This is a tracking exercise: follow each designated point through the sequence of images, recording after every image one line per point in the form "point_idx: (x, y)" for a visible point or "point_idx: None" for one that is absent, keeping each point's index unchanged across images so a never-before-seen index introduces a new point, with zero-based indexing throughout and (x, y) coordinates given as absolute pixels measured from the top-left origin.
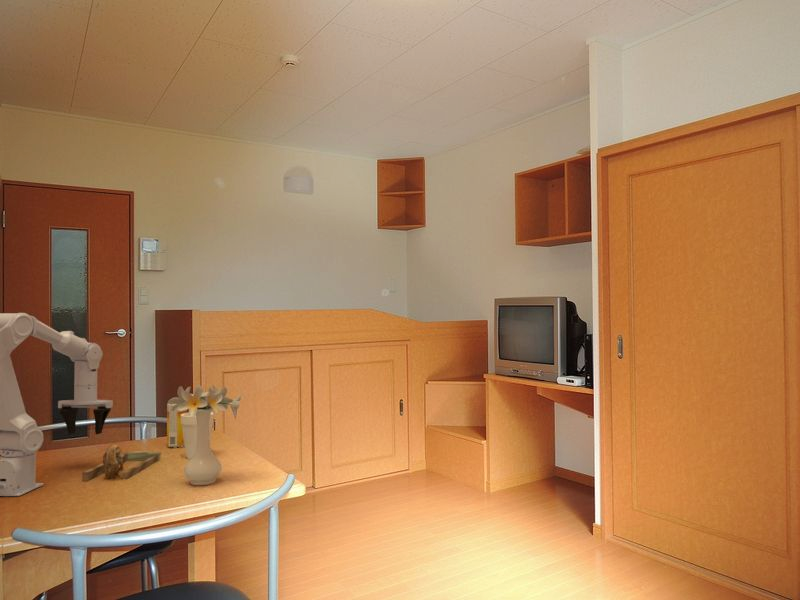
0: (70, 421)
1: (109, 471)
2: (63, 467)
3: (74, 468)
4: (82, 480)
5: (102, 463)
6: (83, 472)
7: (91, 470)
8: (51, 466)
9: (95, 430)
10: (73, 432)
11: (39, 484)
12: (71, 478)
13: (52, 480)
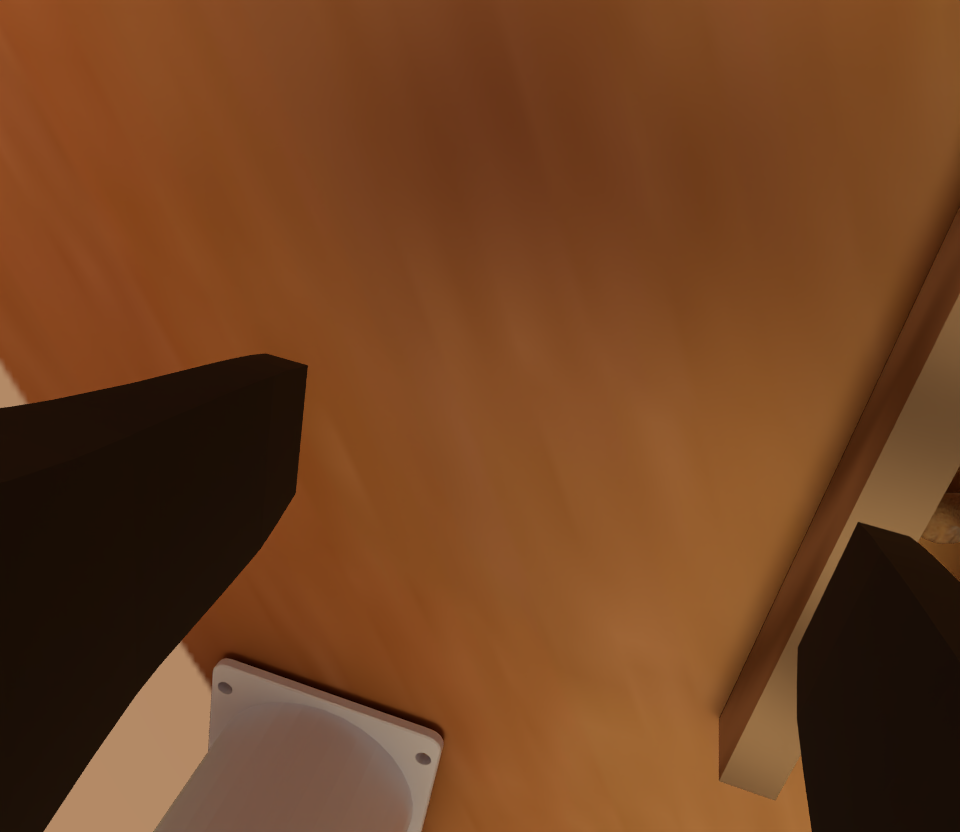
0: (130, 654)
1: (955, 542)
2: (349, 140)
3: (494, 222)
4: (720, 724)
5: (875, 504)
6: (729, 783)
7: (795, 747)
8: (191, 54)
9: (805, 727)
10: (297, 423)
11: (424, 767)
12: (595, 609)
13: (452, 617)
